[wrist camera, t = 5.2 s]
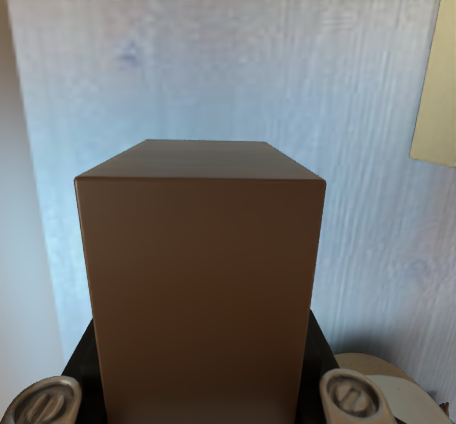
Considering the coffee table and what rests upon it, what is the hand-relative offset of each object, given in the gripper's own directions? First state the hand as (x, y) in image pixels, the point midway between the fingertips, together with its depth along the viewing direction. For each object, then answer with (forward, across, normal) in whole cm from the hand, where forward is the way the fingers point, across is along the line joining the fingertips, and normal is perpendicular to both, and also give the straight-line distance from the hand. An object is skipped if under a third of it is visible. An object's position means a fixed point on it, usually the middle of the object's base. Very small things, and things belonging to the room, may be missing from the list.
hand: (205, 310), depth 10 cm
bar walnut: (0, 0, 0) cm, 0 cm away
